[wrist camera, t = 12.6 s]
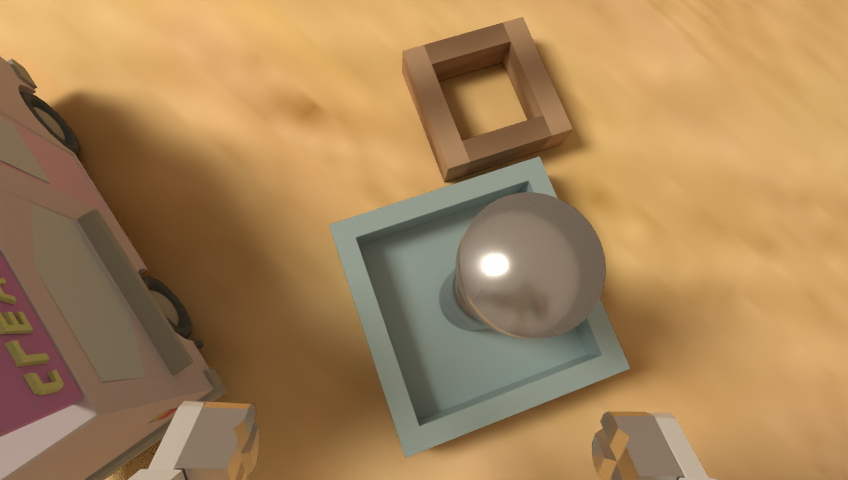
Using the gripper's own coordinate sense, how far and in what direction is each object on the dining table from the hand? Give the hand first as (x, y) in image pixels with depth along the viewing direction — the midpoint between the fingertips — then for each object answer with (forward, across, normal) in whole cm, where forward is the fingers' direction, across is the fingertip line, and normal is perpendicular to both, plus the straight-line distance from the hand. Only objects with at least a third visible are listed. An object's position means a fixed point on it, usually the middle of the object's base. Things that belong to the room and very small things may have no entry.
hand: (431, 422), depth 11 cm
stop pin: (+12, -3, +6) cm, 13 cm away
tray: (+12, -3, +6) cm, 14 cm away
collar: (+20, -4, -2) cm, 20 cm away
